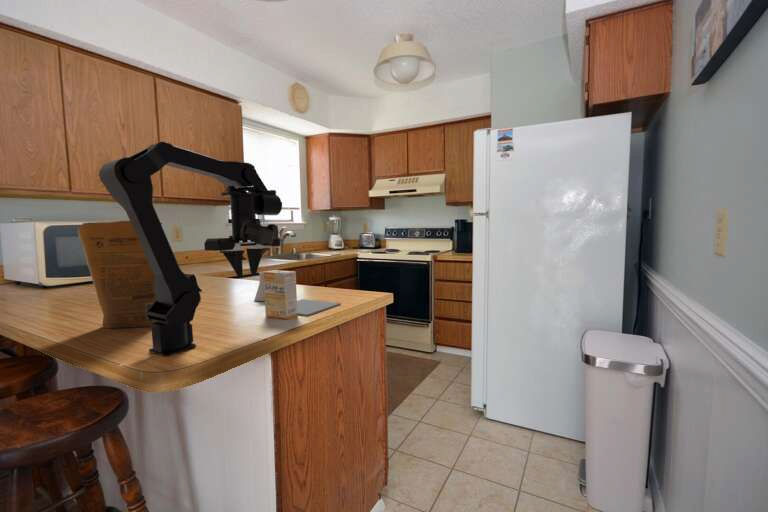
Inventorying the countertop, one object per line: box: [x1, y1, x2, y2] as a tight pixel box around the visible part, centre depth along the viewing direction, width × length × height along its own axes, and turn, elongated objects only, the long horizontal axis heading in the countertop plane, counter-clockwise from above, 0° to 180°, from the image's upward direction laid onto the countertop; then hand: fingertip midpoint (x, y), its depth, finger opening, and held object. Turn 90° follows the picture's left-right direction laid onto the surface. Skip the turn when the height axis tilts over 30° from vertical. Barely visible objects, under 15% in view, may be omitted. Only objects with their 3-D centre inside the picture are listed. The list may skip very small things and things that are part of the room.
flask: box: [254, 270, 266, 302], centre depth 122 cm, size 7×7×10 cm
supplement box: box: [263, 269, 298, 320], centre depth 98 cm, size 8×5×13 cm, turn 62°
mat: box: [297, 298, 342, 317], centre depth 109 cm, size 16×16×1 cm
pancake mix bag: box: [77, 220, 163, 330], centre depth 91 cm, size 7×19×28 cm, turn 95°
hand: (247, 276), depth 88 cm, fingers open, 4 cm apart
